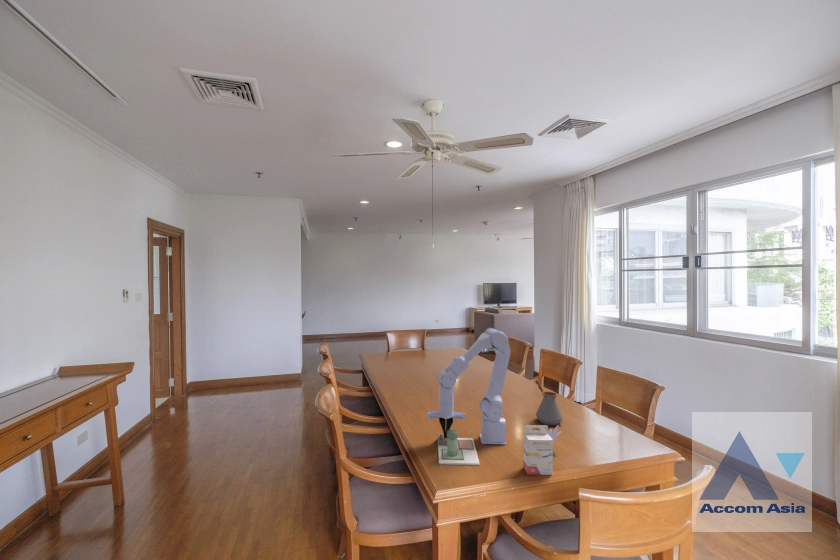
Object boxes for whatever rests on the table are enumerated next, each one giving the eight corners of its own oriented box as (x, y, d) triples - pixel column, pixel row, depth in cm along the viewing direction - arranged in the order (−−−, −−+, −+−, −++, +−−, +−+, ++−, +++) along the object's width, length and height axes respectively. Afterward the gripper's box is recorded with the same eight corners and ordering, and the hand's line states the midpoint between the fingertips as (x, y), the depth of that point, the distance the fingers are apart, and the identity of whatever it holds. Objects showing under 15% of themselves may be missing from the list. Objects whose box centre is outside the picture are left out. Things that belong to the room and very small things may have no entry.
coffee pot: (567, 427, 160) (567, 392, 160) (542, 427, 159) (542, 393, 159) (546, 409, 181) (546, 379, 181) (524, 410, 180) (524, 379, 180)
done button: (450, 439, 144) (450, 434, 144) (450, 444, 140) (450, 438, 140) (441, 439, 144) (441, 434, 144) (441, 443, 141) (441, 438, 141)
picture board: (472, 439, 146) (473, 433, 146) (479, 465, 126) (479, 458, 126) (437, 438, 146) (437, 432, 146) (438, 464, 126) (439, 457, 126)
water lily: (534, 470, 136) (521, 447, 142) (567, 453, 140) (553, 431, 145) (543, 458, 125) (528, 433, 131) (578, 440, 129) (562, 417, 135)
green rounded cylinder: (457, 451, 134) (456, 429, 134) (458, 456, 130) (458, 433, 130) (446, 451, 134) (446, 429, 134) (447, 456, 130) (447, 433, 130)
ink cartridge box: (527, 475, 120) (528, 430, 120) (522, 467, 125) (523, 424, 125) (553, 475, 120) (553, 430, 120) (547, 467, 125) (548, 424, 125)
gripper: (427, 405, 138) (427, 440, 139) (465, 405, 138) (465, 441, 138) (427, 399, 146) (427, 433, 146) (464, 399, 145) (463, 433, 145)
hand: (445, 436), depth 142 cm, fingers closed, pressing on done button
